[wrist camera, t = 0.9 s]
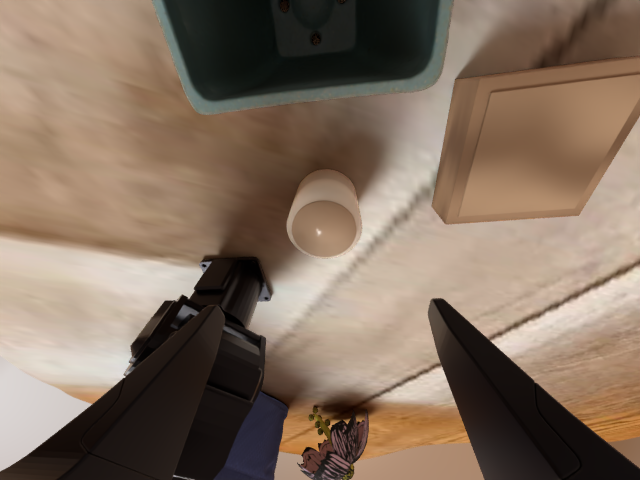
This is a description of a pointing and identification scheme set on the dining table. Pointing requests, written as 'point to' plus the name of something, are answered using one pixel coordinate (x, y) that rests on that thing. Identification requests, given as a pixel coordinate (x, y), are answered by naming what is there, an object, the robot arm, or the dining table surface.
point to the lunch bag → (256, 442)
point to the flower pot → (302, 49)
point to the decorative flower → (336, 449)
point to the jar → (325, 215)
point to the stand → (534, 140)
